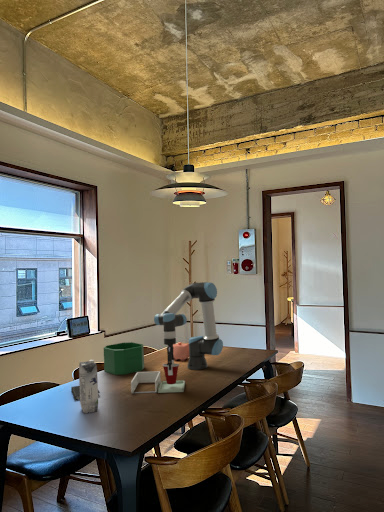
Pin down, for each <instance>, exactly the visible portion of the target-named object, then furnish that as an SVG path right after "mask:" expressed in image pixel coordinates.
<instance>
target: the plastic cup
mask: <svg viewBox="0 0 384 512" xmlns="http://www.w3.org/2000/svg"><path fill="white" fill-rule="evenodd" d="M179 366H180V364H179V363H177V362H176V363H172V370H173V375H168V365H167V363H162V367H163V371H164V377H165V381H166V382H167V384H175V383H176V381H177V378H178V371H179Z"/></svg>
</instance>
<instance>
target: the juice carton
mask: <svg viewBox="0 0 384 512" xmlns="http://www.w3.org/2000/svg"><path fill="white" fill-rule="evenodd" d="M78 365H79V366H78V375H79V376H78V377H79V378H78V380H79V381H78V382H79V384H78V386H80V399H79V403H80V407H81V410H82V413H83V414H89V413H93V412H94V413H95V412H97V411H98V410H99V409H98V408H99V393H98V390H99V386H98V385H99V384H98V383H99V381H98V380H99V379H98V367H97V363H96V362H95V359H89V360H88V361H82V362H79V363H78ZM88 412H89V413H88Z"/></svg>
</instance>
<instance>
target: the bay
mask: <svg viewBox="0 0 384 512" xmlns="http://www.w3.org/2000/svg"><path fill="white" fill-rule="evenodd" d="M161 379H162V378H161V371H160V370H159V371H158V370H157V371H137V372H135V375H134V376H133V378H132V379H131V381H130V391H131V392H130V394H132V395H133V394H152V393H153V394H157V393H158V388H159V385H160V383H161ZM144 383H145V384H148V383H154V389H155V390H154V391H135V390H136V388H137V386H138V385H139V384H144Z"/></svg>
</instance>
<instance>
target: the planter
mask: <svg viewBox="0 0 384 512" xmlns="http://www.w3.org/2000/svg"><path fill="white" fill-rule="evenodd" d="M144 368H145V353H144V344H142V343H137V342H132V341H131V342H130V341H128V342H125V341H124V342H119V343H118V342H117V343H114V344H108V345H105V346H104V347H103V369H104V372H106V373H108V374H110V375H114V376H116V375H117V376H119V375H122V376H123V375H129V374H133V373H137V372H142V371H143V370H144Z"/></svg>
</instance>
